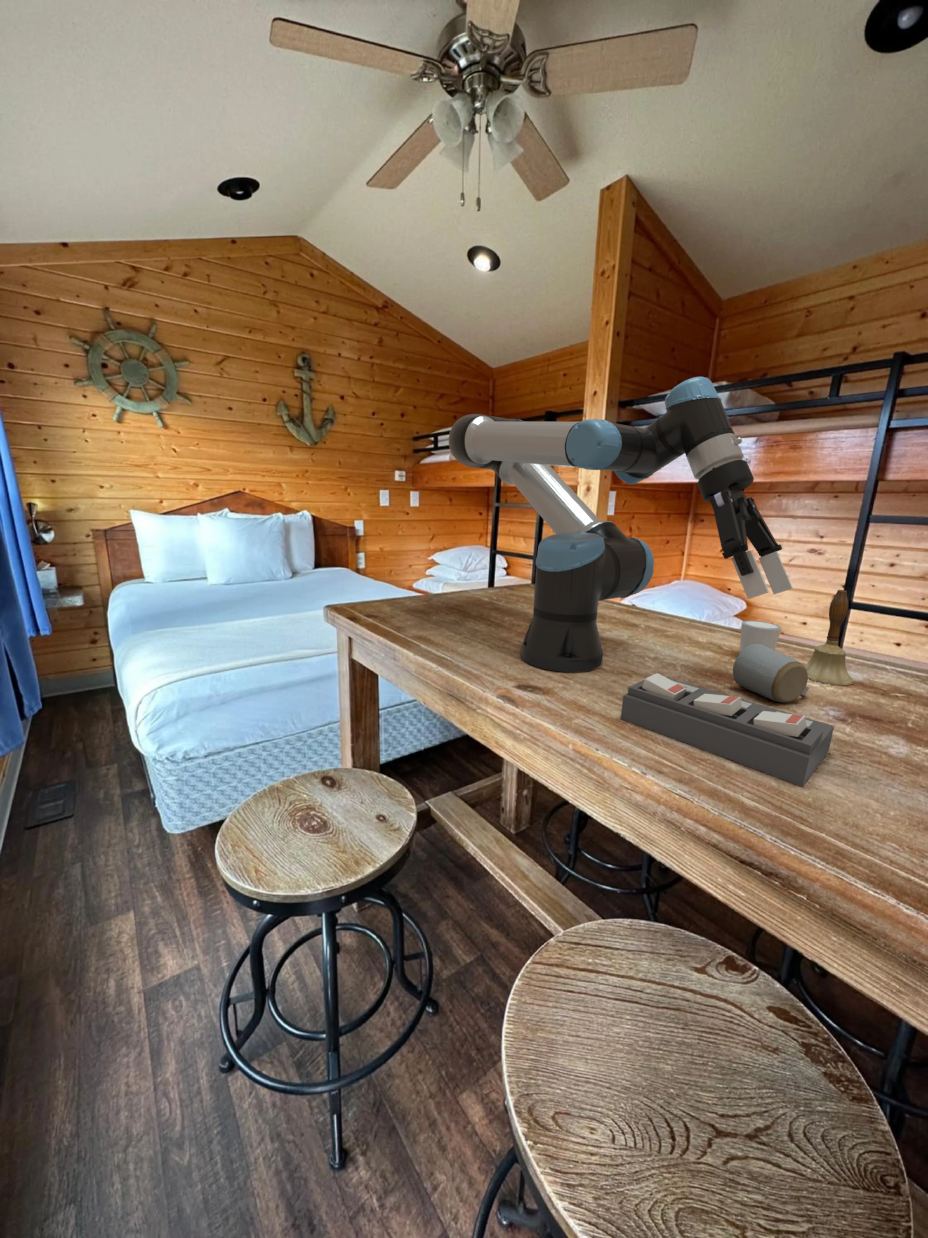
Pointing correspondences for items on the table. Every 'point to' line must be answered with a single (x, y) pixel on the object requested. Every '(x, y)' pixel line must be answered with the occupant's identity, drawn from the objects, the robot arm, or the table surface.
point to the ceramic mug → (770, 673)
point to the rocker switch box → (730, 732)
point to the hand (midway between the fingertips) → (771, 593)
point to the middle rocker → (719, 704)
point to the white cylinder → (759, 634)
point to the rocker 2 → (781, 723)
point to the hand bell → (831, 649)
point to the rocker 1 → (664, 687)
